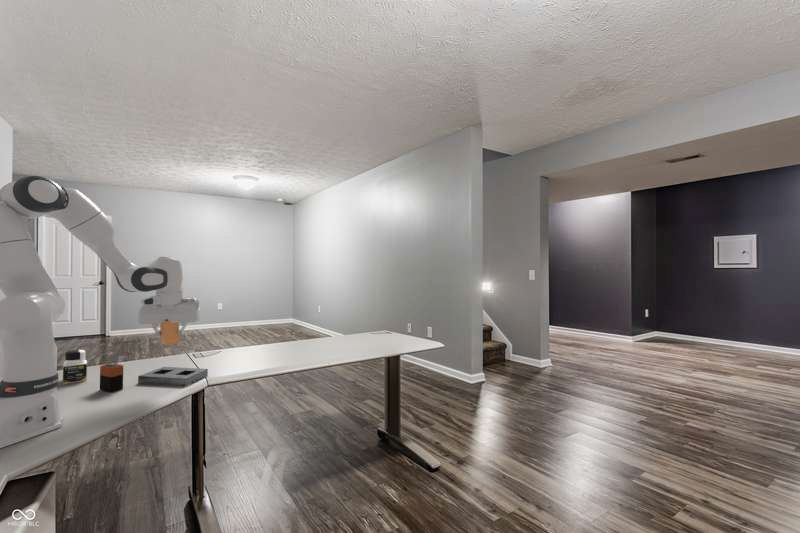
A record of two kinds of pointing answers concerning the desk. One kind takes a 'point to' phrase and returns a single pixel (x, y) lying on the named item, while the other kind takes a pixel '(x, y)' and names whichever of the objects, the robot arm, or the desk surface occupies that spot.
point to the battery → (111, 377)
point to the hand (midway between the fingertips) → (169, 334)
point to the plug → (169, 332)
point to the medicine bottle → (74, 367)
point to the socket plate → (172, 376)
